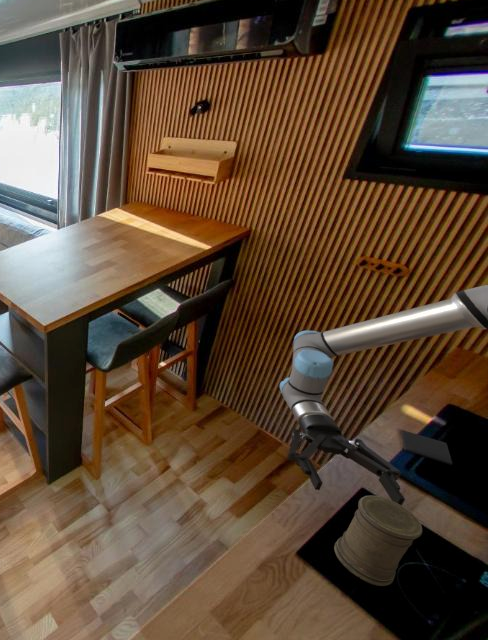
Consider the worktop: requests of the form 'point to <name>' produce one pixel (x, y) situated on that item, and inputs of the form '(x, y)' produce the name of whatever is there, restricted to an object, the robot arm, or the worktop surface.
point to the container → (377, 539)
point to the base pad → (426, 447)
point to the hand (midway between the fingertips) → (358, 494)
